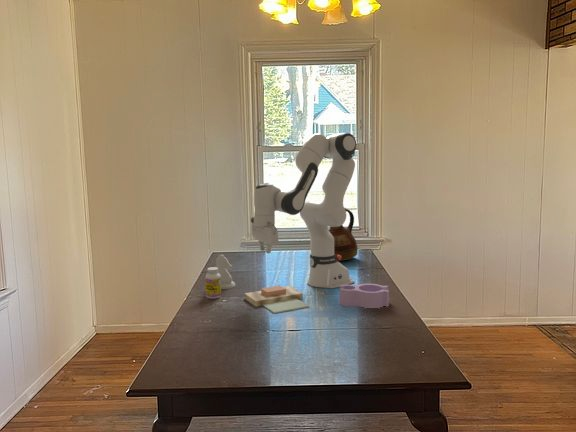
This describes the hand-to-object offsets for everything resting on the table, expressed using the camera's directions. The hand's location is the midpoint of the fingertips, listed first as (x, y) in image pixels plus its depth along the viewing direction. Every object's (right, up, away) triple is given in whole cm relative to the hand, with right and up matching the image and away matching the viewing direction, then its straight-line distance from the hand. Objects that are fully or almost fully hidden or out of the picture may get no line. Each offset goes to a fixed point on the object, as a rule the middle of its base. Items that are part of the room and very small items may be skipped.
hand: (265, 251), depth 223 cm
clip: (+42, -21, -11) cm, 48 cm away
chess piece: (-20, -17, +15) cm, 30 cm away
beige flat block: (+4, -20, -4) cm, 21 cm away
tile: (+4, -18, -4) cm, 19 cm away
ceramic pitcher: (+39, -9, +63) cm, 75 cm away
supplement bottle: (-23, -20, -1) cm, 30 cm away
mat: (+9, -22, -14) cm, 27 cm away
